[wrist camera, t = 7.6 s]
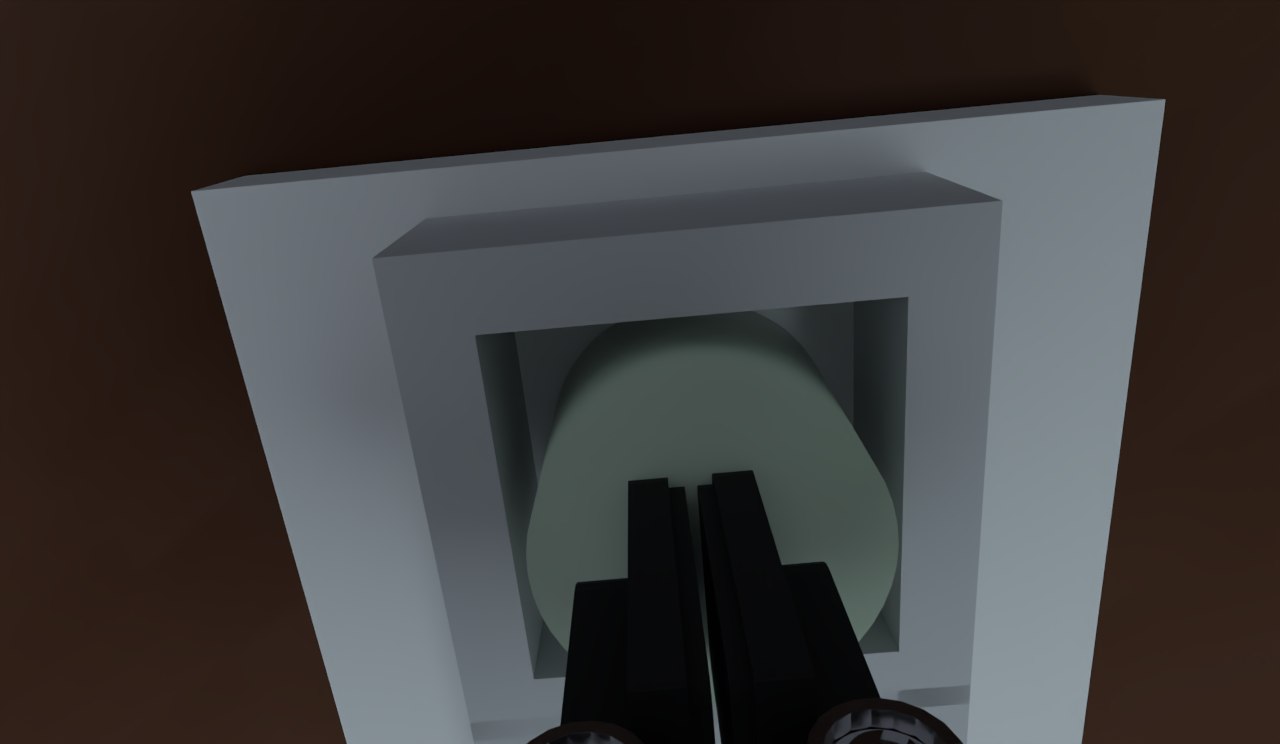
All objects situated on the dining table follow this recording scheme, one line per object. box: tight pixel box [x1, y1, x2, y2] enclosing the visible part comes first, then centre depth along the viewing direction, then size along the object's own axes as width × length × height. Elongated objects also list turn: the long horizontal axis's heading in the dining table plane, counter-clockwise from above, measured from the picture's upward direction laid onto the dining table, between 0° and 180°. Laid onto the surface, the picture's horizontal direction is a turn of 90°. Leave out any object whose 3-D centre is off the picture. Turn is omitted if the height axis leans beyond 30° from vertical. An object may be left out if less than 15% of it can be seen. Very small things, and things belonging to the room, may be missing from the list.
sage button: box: [526, 311, 899, 707], centre depth 13 cm, size 5×5×4 cm
